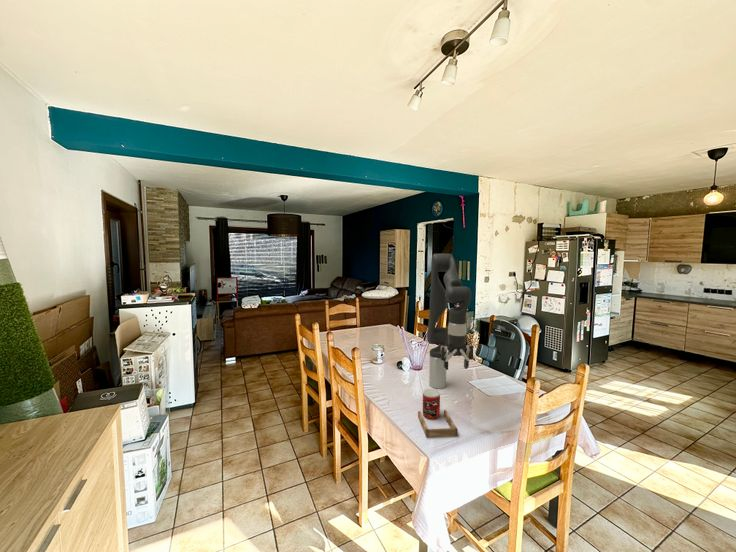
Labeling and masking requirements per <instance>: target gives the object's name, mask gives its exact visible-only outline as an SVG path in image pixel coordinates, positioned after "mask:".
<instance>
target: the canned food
mask: <svg viewBox="0 0 736 552" xmlns="http://www.w3.org/2000/svg"><path fill="white" fill-rule="evenodd" d="M440 406H441V393H440V391H439V390H438V389H436V388H426V389H424V390H423V391H422V416H423V418H425V419H428V420H436V419H437V420H438V418H439V417H440V414H441V412H440V411H441V409H440V408H441V407H440Z"/></svg>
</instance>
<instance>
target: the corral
mask: <svg viewBox="0 0 736 552" xmlns="http://www.w3.org/2000/svg"><path fill="white" fill-rule="evenodd" d="M443 417H444V419H445V421H446V423H447V425H448V426H449V427H447V428H429V427H428V426H427V423H426V421H425V419H424V418H425V417H424V416H423V413H422V411H421V410H418V411H417V419H418V420H419V422H420V425H421V428H422V430H423V433H424V435H425V438H427V439H428V438H443V437H444V438H445V437H458V433H459V431H458V430H459V429H458V428H457V426H456V424H455V423H454V421H453V418H451V415H449V413H448V411H447V410H446V409H444V410H443Z"/></svg>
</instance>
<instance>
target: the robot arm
mask: <svg viewBox="0 0 736 552" xmlns="http://www.w3.org/2000/svg"><path fill="white" fill-rule="evenodd" d="M430 262H431V264H430V266H431V267H430V268H431V269H430V270H431V276H430V279H431V280H430V293H429V294H430V295H429V311H428V312H429V315H428V324H427V332H426V339H427V343H428V344H430V345H437V346H435V347H434V348H433V347H432V348H431V349H430V350H429V369H428V370H429V374H428V375H429V379H428V381H429V382H428V383H429V385H428V386H429V387H431V388H432V389H435V390H438V389H439V390H442V389H445V388H446V387H447V371H448V370H449V360H450V359H452V357H457V356H458V357H461V356H462V357H463V358H464V359H463V368H464V369H465V370H468V368H469V367H470V365H469V364H470V360H474V346H473V345H472V344H471V343H469V344H468V345H467V313H468V307H469V306H470V303H471V299H472V291H471V289H470V287H468V286H463V282H462V281H461V279H460V277H459V274H458V270H457V265H456V260H455V258H454V256H453V254H452V253H433V254H432V257H431V261H430ZM439 272H442V273H443V272H445V273H444V275H443V284H444V285H443V284H442V282H441V280H440V278H439ZM444 286H445V287H444ZM448 303H450V304H459V305H458V306H456V307H453V308H450V309H449V312H448V327H447V328H446V327H443V326H442V327H441V326H439V327H438V326H437V327H436V325H437V323H438V320H439V319H440V318H441V317H442V315H443V314H444V313H445V311H446V310H447V308H448ZM466 350H467V352H468V354H466Z"/></svg>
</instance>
